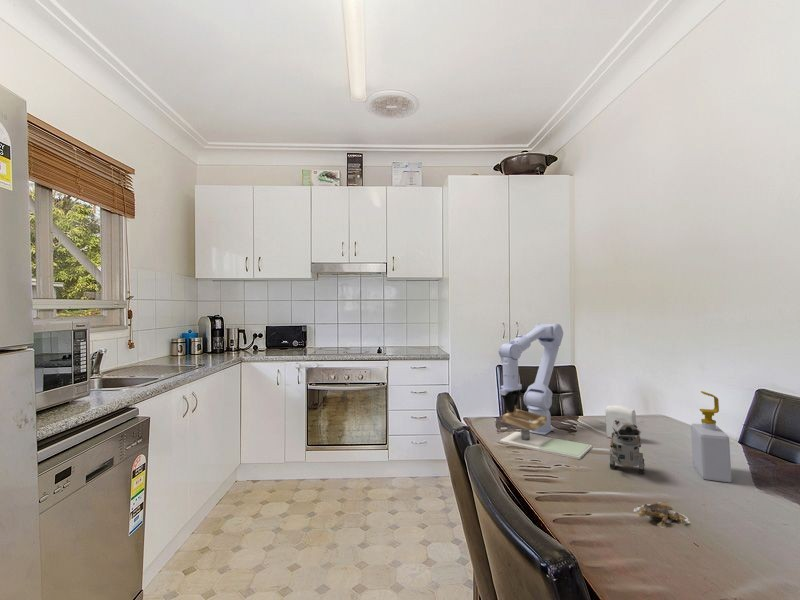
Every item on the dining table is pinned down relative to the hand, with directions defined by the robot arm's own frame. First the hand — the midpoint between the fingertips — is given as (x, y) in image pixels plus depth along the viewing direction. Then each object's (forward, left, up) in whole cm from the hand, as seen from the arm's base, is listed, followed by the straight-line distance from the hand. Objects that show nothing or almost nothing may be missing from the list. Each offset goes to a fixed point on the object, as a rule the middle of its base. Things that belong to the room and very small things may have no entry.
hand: (511, 411), depth 151 cm
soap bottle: (-4, +59, -11) cm, 60 cm away
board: (0, +12, -10) cm, 16 cm away
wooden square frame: (0, +5, -3) cm, 6 cm away
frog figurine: (+33, +52, -11) cm, 62 cm away
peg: (0, +5, -10) cm, 11 cm away
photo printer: (-23, +32, -11) cm, 41 cm away
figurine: (+9, +40, -11) cm, 42 cm away
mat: (0, +19, -10) cm, 21 cm away
